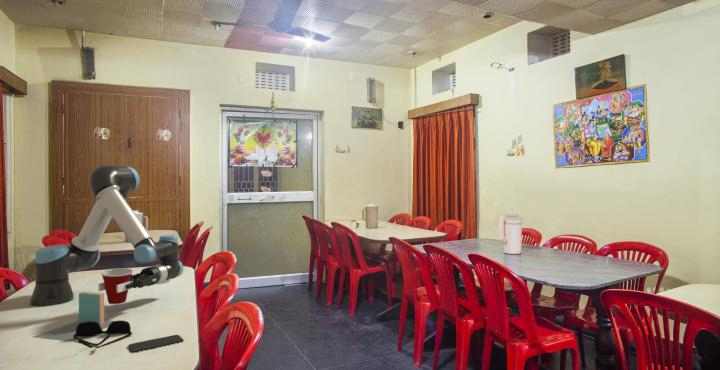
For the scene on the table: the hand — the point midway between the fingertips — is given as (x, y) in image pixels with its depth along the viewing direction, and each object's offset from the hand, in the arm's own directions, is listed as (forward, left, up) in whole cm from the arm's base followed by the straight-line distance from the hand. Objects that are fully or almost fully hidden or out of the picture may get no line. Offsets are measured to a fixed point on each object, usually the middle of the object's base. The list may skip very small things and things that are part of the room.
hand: (108, 288), depth 157 cm
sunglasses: (+16, -20, -12) cm, 28 cm away
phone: (+34, -15, -12) cm, 39 cm away
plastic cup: (-1, +5, -7) cm, 8 cm away
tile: (0, -7, -11) cm, 13 cm away
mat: (0, -12, -12) cm, 17 cm away
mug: (-25, +60, -12) cm, 66 cm away
